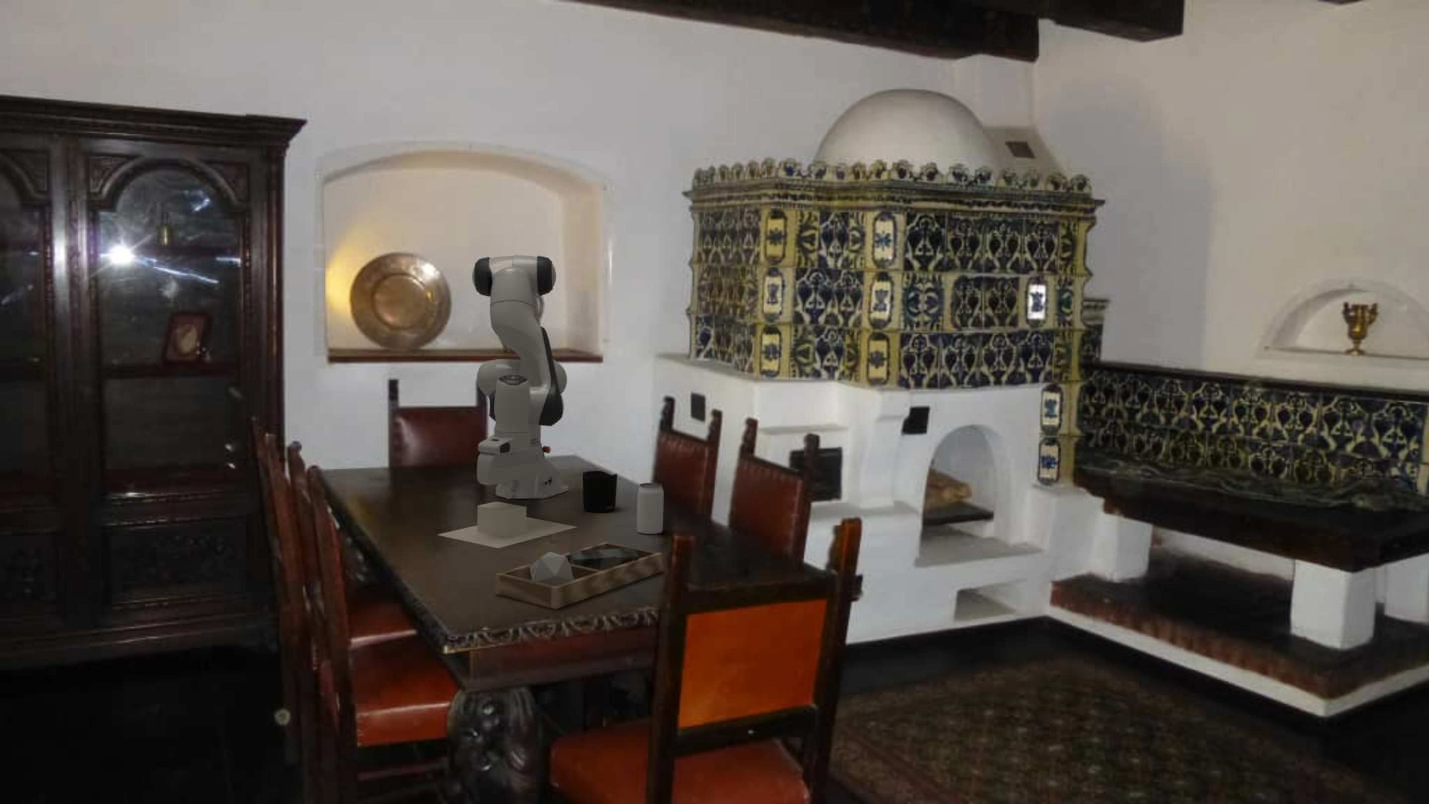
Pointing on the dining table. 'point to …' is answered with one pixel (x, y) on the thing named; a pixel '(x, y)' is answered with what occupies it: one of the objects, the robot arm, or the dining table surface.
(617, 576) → the walnut tray
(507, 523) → the plain beige block
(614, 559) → the stone block
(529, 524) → the felt mat
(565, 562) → the die
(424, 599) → the dining table surface
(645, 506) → the can
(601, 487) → the pen holder
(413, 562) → the dining table surface
